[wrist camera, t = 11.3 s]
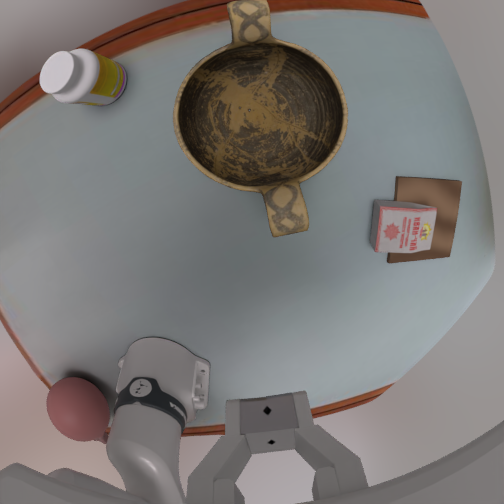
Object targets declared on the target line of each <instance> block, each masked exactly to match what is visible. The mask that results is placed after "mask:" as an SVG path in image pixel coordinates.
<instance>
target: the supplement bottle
mask: <svg viewBox="0 0 504 504" xmlns="http://www.w3.org/2000/svg"><path fill="white" fill-rule="evenodd" d="M40 85H41V88H42V89H43V90H44V91H45V92H47V93H51V94H52V95H53V96H54V98H55V99H56V100H58V101H60V102H62V103H69V104H85V105H96V106H103V105H107V104H110V103H112V102H114V101H115V100H116V99H117V98H118V97H119V96H120V95H121V94H122V92H123V90H124V88H125V85H126V72H125V70H124V68H123V67H122V66H121V65H120V64H119V63H117V62H115V61H113V60H110V59H108V58H106V57H104V56H101V55H99V54H97V53H94V52H92V51H90V50H87V49H76V50H72V51H70V52H66V51H60V52H57V53H55V54H54V55H52V56H51V57H50V58H49V59H48V60H47V61H46V63H45V64H44V66H43V68H42V70H41V74H40Z"/></svg>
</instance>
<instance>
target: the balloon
mask: <svg viewBox="0 0 504 504" xmlns="http://www.w3.org/2000/svg"><path fill="white" fill-rule="evenodd" d="M47 411H48V414H49V417H50V419H51V421H52V423H53V425H54V426H55V427H56V428H57V429H58V430H59V431H60V432H61V433H62V434H63V435H65V436H67V437H68V438H70V439H73V440H76V441H91V440H94V441H101V442H102V443H104V444H106V443H107V440H108V435H107V434H106V432H105V430H106V428H107V426H108V424H109V419H110V411H109V406H108V403H107V401H106V399H105V397H104V395H103V394H102V392H101V391H100V390H99V389H98V388H97V387H96V386H95V385H93V384H92V383H91V382H89V381H87V380H84V379H82V378H77V377H68V378H64V379H61V380H59V381H58V382H56V383H55V384H54V385H53V386H52V388H51V389H50V391H49V393H48V397H47Z"/></svg>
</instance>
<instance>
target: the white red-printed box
mask: <svg viewBox="0 0 504 504" xmlns="http://www.w3.org/2000/svg"><path fill="white" fill-rule="evenodd" d="M436 213H437V208H436V207H431V206H425V205H421V204H416V203H411V202H400V201H387V200H374V207H373V218H372V227H371V236H370V243H371V245H372V247H373V249H374V251H375V252H392V253H414V252H418V251H423V250H430V247H431V242H432V237H433V231H434V226H435V220H436Z"/></svg>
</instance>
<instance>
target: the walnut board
mask: <svg viewBox="0 0 504 504" xmlns="http://www.w3.org/2000/svg"><path fill="white" fill-rule="evenodd" d="M461 185H462V182H461V181H457V180H446V179H433V178H418V177H399V176H396V183H395V197H394V201H400V202H411V203H416V204H421V205H425V206H431V207H436V208H437V213H436V220H435V226H434V231H433V237H432V242H431V247H430V250H423V251H418V252H414V253H392V252H388V257H387V262H388V263H397V262H407V261H417V260H426V259H435V258H444V257H450V253H451V248H452V243H453V238H454V233H455V228H456V222H457V216H458V209H459V202H460V194H461Z"/></svg>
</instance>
